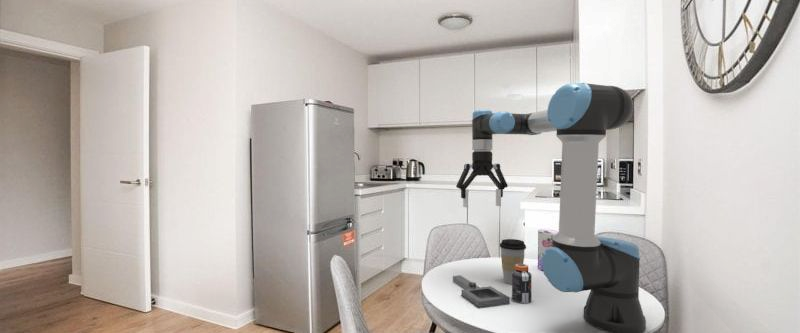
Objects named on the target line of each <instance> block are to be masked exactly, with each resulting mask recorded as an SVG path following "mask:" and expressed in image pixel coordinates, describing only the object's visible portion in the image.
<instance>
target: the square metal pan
mask: <svg viewBox="0 0 800 333" xmlns="http://www.w3.org/2000/svg"><path fill="white" fill-rule="evenodd" d="M452 282H453V283H454V284H456V285H458V287H461V288H463V289H461V297H462V298H464V299H465V300H466V301H468V302H469V303H471V305H473V306H474V307H476V308H477V309H483V308H491V307H498V306H504V305H510V304H511V303H510V302H511V301H510V300H511V298H510V296H508V295H506V294H504V293H503V292H501V291H499V290H497V289H496V288H495V287H492V286H491V285H489V286H481V287H480V286H478V285H477V282H474V281H471V280H469V279H467V278H466V277H464V276H462V275H460V274H459V275H458V274H457V275H453V276H452Z"/></svg>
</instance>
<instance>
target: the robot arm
mask: <svg viewBox="0 0 800 333" xmlns="http://www.w3.org/2000/svg"><path fill="white" fill-rule="evenodd" d="M633 113H634V101H633V99H632V96H631V94H629V93H628V92H627V91H626V89H623V88H621V87H619V86H614V85H604V84H603V85H602V84H595V83H586V82H578V83H577V82H576V83H575V82H573V83H571V82H570V83H565V84H564V85H561V86H560V87H559V88H557V89H556V91H555V93H554V94H553V95H552V96H551V98H550V100H549V102H548V106H547V109H544V110H539V111H535V112H530V113H510V111H509V112H508V111H498V112H494V113H493V111H492V110H491V109H478V110H474V111H473V112H472V119H471V125H472V126H471V128H472V130H471V131H472V135H471V137H472V144H471V145H472V151H473V152H472V158H471V161H472V163H471V164H470V163H464V166H463V171H462V173H461V175H460V177H459V179H458V181H457V183H456V188H457V189H460V197H461V199H462V207H464V208H469V190H468V189H467V188H468V187H469V186H470V185H471V183H472V182H473V181H474V180H475V178H476V177H477V176H487V177H488V178H489V179H490V180H491V181H492V182H493V184H494V186H496V187H497V188H495V206H496V207H502V198H503V197H504V189H506V188H508V183H507V181H506V179H505V176H504V174H503V172H502V170H501V164H500V163H494V164H493V152H492V151H493V135H525V136H526V135H528V136H536V135H541V134H542V133H550V132H556V134H555V136H556V138H558V140H559V141H560V142H561V167H560V168H561V169H560V189H559V190H560V192H559V193H560V196H559V217H558V218H559V219H558V231H559V232H558V233H557V234H555V235H554V236H553V237H552V247H550V248H548V249H546V250H545V252H544V253H543V255H542V267H543V270H542V271H543V273H544V275H545V278H546V279H547V281H548V282H549V284H551V286H552V287H553V288H554V289H556V290H557V291H559V292H562V293H577V294H578V293H581V292H584V291H589V293H588V296H587V299H586V302H585V305H584V307H583V312H582V313H583V314H582V317H583V320H584V321H586V323H588V324H589V325H591V326H593V327H594V328H598V329H599V330H603V331H606V332H610V333H643V332H645V331H646V329H647V319H646V317H645V315H644V313H643V308H642V305H641V302H640V297H639V296H640V295H639V294H640V293H639V292H640V291H639V289H640V288H639V287H640V286H639V285H640V261H641V257H640V248H639V247H638V245H637V244H636V243H633V242H632V241H627V240H622V239H617V238H612V237H605V236H596V235H595V233H596V214H597V213H596V208H597V192H598V191H597V188H598V169H599V149H600V148H599V145H600V142H601V141H603V140H604V139H605V138H606V136H607V131H612V130H616V129H619V128H621V127H623V126H624V125H626V123H628V122H629V120H630V119H631V117H632V116H633ZM470 170H472V171H471V172H470ZM493 170H494V172H495V174H496V176H497V177H496V176H495V174H494V172H493ZM469 172H470V174H469ZM468 174H469V176H468ZM467 176H468V177H467Z"/></svg>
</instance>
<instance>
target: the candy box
mask: <svg viewBox="0 0 800 333" xmlns="http://www.w3.org/2000/svg"><path fill="white" fill-rule="evenodd" d="M558 232H559V230H555V229H550V228H542V229H538V230H537V233H538V234H537V269H538V270H540V271H543V267H542V255H543V253H544V252H545V250H546V249H548V248H550V247H552V237H553V236H554V235H555V234H557V233H558Z"/></svg>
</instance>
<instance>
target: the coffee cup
mask: <svg viewBox="0 0 800 333" xmlns="http://www.w3.org/2000/svg"><path fill="white" fill-rule="evenodd" d="M499 247H500V258H501V268H502V275H503V281H504V283H505V284H508V285H512V273H513V271H515V270H516V269H515V265H516V264H525V262H524V260H525V250H526V249H527V245H526V244H525V242H524V241H523V240H522V239H521V240H520V239H514V238H507V239H502V240H501V242H500V243H499Z"/></svg>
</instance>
